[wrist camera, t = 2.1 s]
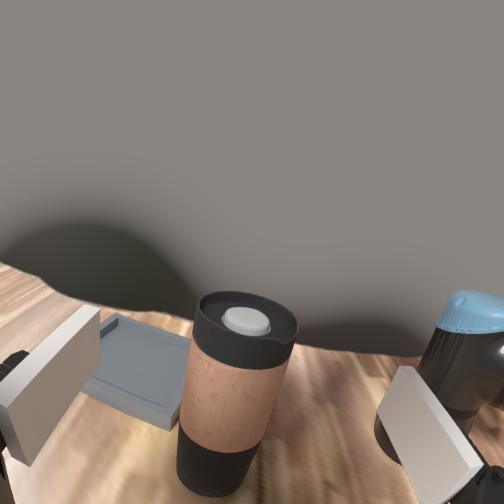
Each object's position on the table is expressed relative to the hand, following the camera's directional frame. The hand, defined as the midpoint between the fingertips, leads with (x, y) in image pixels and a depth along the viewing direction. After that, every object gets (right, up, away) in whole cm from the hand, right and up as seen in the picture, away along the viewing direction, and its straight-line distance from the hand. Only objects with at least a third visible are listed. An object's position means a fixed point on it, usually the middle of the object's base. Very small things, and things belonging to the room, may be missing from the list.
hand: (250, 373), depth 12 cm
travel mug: (-4, -18, +15) cm, 24 cm away
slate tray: (-17, -12, +29) cm, 36 cm away
